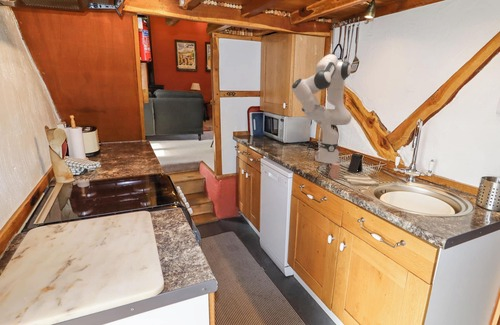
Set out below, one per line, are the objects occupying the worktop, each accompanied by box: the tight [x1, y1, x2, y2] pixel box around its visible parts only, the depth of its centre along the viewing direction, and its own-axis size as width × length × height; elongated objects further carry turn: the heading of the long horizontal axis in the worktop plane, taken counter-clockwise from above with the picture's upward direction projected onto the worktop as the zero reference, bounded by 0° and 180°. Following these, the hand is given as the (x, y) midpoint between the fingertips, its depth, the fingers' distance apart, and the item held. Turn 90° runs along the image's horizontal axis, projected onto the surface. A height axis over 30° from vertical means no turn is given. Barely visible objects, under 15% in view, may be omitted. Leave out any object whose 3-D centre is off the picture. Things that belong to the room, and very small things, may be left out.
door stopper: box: [347, 152, 363, 174], centre depth 187 cm, size 9×6×12 cm, turn 128°
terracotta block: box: [329, 162, 341, 180], centre depth 172 cm, size 4×4×9 cm
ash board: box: [342, 174, 379, 187], centre depth 169 cm, size 15×16×1 cm
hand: (324, 124), depth 164 cm, fingers open, 8 cm apart
